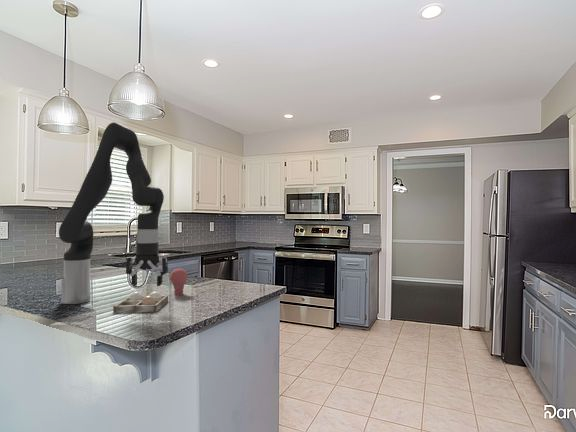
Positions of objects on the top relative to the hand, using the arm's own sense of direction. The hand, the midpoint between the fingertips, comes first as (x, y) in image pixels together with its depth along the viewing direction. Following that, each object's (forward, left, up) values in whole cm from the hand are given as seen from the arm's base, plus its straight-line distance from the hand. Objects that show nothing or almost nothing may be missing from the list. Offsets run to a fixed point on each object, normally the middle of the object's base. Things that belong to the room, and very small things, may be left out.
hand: (146, 285), depth 124 cm
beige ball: (+1, 0, -9) cm, 9 cm away
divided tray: (-3, +4, -9) cm, 11 cm away
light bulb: (+6, +22, -10) cm, 25 cm away
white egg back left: (-6, +7, -9) cm, 13 cm away
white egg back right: (+1, +7, -9) cm, 11 cm away
